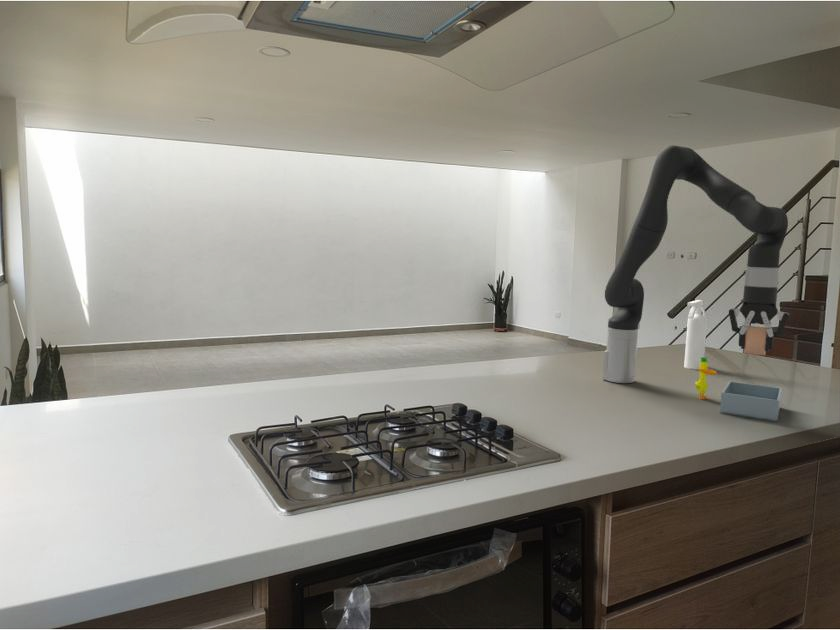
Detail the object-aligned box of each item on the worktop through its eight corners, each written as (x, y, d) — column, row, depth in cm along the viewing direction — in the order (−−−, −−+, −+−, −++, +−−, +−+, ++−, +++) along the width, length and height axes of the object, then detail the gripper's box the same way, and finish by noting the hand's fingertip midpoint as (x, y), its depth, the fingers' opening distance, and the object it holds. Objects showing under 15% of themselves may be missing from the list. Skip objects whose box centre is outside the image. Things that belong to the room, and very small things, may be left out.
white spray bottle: (713, 367, 216) (716, 299, 213) (695, 371, 209) (698, 301, 206) (695, 364, 221) (698, 298, 218) (677, 368, 214) (680, 300, 211)
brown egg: (742, 353, 152) (745, 327, 152) (744, 350, 157) (746, 325, 156) (764, 356, 150) (767, 328, 149) (766, 353, 154) (768, 326, 153)
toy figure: (717, 400, 168) (721, 359, 166) (708, 401, 166) (712, 360, 165) (697, 395, 174) (701, 355, 172) (689, 396, 172) (692, 356, 171)
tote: (719, 412, 155) (721, 392, 154) (727, 399, 169) (729, 381, 168) (777, 422, 148) (779, 400, 147) (780, 407, 162) (781, 388, 161)
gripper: (728, 284, 152) (722, 348, 154) (793, 287, 144) (786, 355, 146) (731, 282, 158) (726, 344, 160) (794, 285, 150) (787, 351, 152)
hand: (755, 349), depth 153 cm, fingers closed on brown egg, 5 cm apart
